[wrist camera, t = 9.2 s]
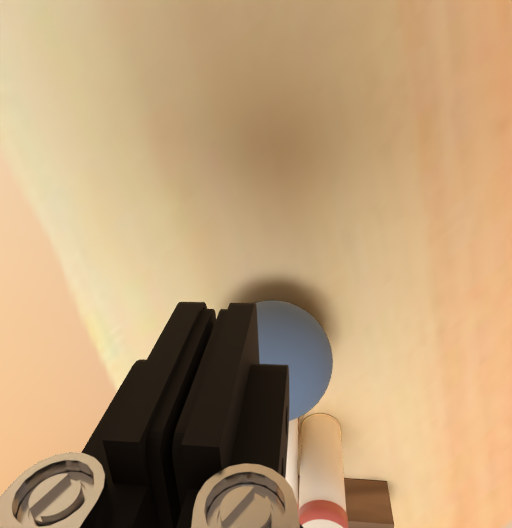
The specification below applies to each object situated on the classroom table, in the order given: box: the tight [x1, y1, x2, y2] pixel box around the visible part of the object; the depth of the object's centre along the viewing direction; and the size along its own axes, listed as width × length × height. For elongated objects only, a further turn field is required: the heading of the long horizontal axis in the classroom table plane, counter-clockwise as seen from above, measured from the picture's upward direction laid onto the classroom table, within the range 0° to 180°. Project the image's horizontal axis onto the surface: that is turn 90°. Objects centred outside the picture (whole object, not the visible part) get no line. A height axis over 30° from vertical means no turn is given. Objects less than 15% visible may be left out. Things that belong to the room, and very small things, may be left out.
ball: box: [255, 300, 333, 421], centre depth 23 cm, size 6×6×6 cm
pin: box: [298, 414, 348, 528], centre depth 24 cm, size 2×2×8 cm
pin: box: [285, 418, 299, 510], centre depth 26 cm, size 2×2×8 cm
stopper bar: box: [298, 476, 394, 528], centre depth 29 cm, size 2×10×3 cm, turn 93°
